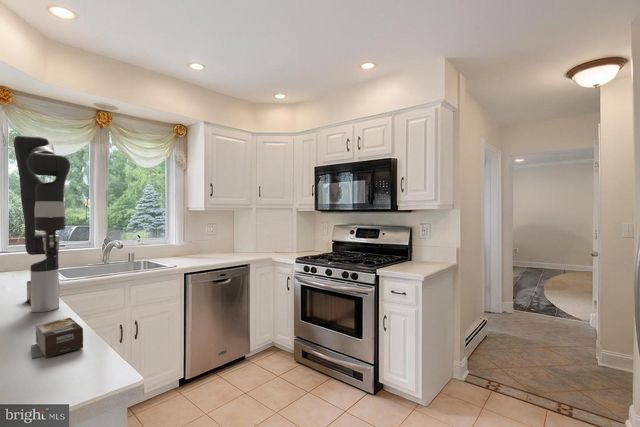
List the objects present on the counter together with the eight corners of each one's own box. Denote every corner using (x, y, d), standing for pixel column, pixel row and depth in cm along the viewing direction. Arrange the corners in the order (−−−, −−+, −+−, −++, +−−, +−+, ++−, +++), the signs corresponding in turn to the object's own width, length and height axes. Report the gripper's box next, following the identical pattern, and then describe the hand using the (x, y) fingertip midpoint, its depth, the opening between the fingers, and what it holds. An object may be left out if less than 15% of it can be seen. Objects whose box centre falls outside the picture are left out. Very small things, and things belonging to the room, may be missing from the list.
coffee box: (70, 316, 108) (84, 327, 98) (70, 335, 108) (84, 348, 98) (35, 323, 101) (45, 336, 91) (35, 343, 101) (45, 358, 91)
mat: (31, 346, 100) (31, 345, 100) (71, 337, 107) (71, 336, 107) (32, 359, 92) (32, 357, 92) (75, 348, 98) (75, 347, 98)
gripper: (34, 215, 106) (35, 267, 106) (35, 216, 96) (36, 273, 96) (63, 215, 111) (64, 264, 111) (66, 215, 101) (67, 270, 101)
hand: (51, 268), depth 103 cm, fingers closed
